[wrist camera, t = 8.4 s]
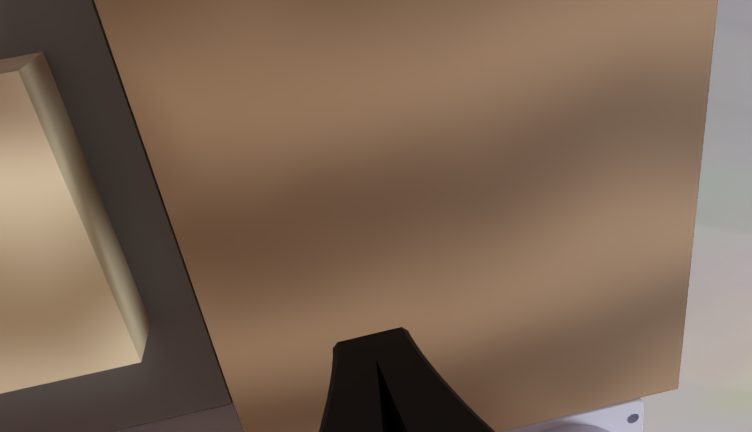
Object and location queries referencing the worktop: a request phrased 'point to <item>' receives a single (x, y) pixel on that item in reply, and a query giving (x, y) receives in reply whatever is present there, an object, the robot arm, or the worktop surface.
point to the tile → (56, 245)
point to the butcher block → (429, 188)
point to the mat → (135, 235)
